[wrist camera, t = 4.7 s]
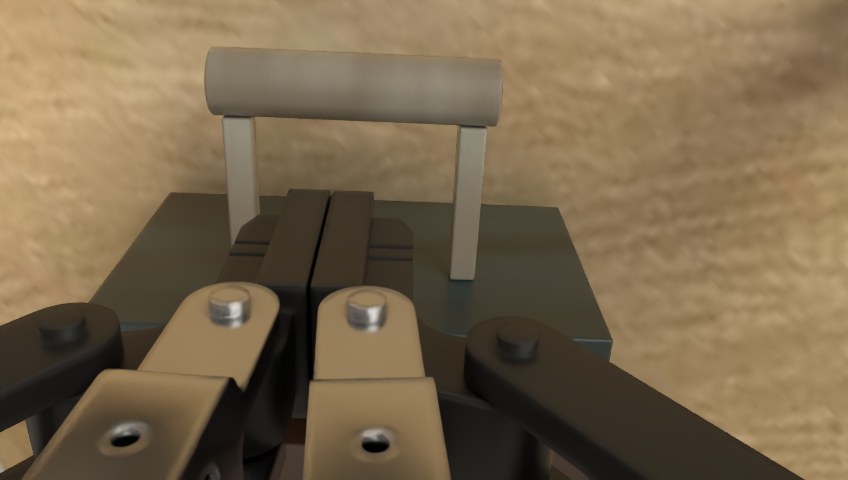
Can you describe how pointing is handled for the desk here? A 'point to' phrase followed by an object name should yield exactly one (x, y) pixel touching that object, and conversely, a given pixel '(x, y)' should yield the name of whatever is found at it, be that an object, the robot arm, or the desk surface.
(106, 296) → the drawer
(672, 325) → the desk surface
